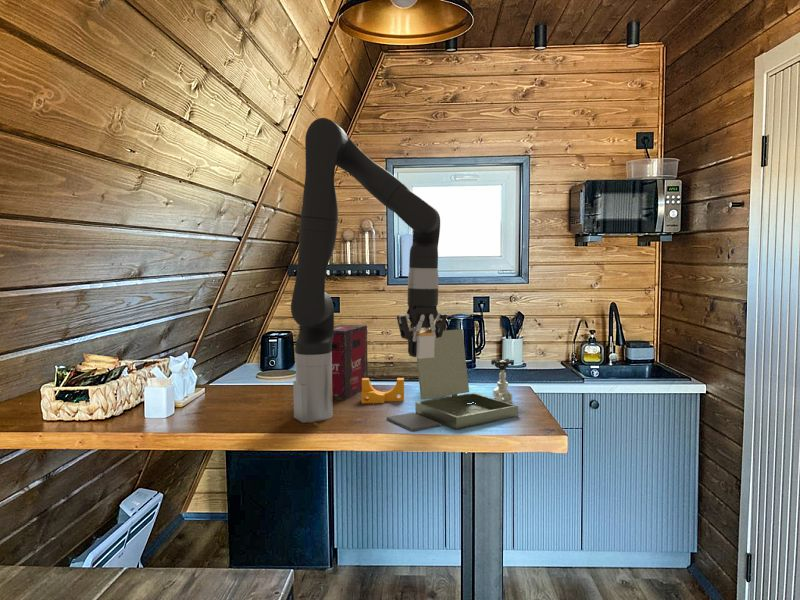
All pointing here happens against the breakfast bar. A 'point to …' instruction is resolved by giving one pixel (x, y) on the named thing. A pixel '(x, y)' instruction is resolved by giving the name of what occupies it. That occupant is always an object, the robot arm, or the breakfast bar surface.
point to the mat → (413, 421)
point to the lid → (444, 367)
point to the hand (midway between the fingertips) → (421, 355)
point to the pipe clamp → (379, 396)
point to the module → (425, 345)
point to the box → (348, 360)
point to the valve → (502, 381)
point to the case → (465, 410)
